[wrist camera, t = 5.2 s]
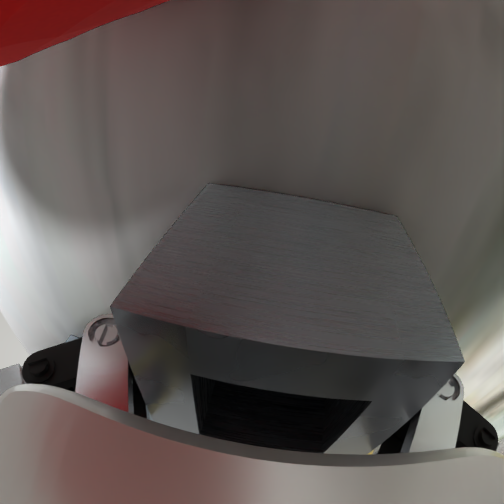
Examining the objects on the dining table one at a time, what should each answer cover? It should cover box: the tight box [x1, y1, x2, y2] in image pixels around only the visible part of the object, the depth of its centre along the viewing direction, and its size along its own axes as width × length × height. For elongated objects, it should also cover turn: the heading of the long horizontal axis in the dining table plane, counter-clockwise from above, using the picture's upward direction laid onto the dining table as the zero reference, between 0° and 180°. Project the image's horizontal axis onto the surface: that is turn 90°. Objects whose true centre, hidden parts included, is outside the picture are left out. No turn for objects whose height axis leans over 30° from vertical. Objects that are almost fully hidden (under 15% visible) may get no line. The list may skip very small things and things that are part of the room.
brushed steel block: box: [110, 183, 465, 455], centre depth 9 cm, size 6×6×6 cm
